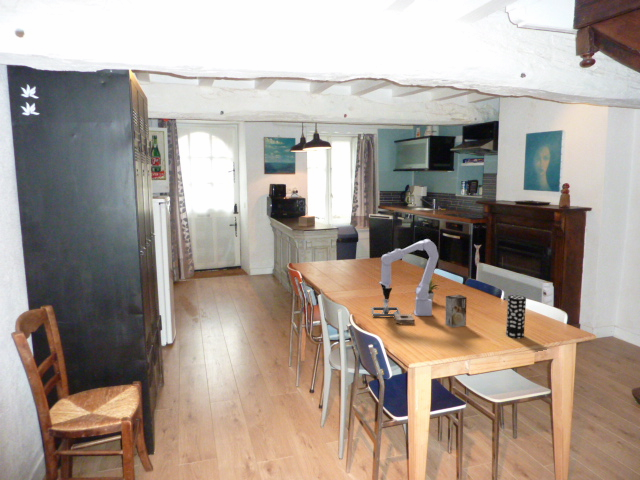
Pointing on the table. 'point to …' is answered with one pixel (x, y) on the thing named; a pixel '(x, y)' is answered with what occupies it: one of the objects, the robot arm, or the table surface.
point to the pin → (386, 306)
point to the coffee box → (456, 310)
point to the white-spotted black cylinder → (516, 316)
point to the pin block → (404, 318)
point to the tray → (382, 312)
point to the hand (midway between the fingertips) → (386, 297)
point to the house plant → (431, 293)
